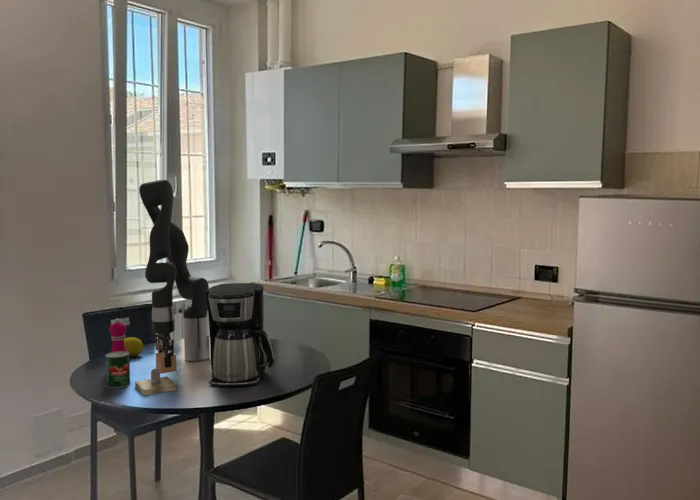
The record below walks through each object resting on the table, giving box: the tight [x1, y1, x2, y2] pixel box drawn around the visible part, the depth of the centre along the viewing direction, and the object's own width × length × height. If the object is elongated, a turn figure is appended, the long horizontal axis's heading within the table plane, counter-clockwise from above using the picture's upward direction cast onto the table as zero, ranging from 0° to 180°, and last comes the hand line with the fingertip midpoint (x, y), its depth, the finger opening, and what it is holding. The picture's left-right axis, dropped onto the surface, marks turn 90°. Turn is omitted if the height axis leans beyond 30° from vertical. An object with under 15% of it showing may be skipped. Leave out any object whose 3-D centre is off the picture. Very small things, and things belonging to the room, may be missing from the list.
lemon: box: [124, 336, 145, 358], centre depth 257 cm, size 11×8×8 cm
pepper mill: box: [108, 318, 127, 353], centre depth 236 cm, size 7×7×20 cm
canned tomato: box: [104, 351, 131, 389], centre depth 219 cm, size 8×8×11 cm
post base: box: [134, 367, 178, 397], centre depth 215 cm, size 11×11×7 cm
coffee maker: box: [206, 282, 275, 388], centre depth 229 cm, size 23×32×34 cm
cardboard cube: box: [155, 351, 178, 375], centre depth 224 cm, size 6×6×6 cm
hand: (165, 364), depth 224 cm, fingers closed on cardboard cube, 5 cm apart
